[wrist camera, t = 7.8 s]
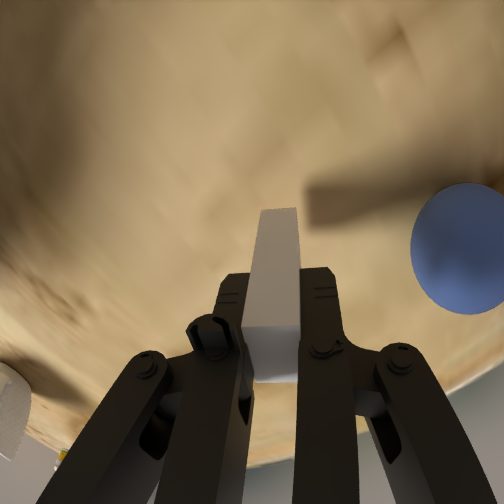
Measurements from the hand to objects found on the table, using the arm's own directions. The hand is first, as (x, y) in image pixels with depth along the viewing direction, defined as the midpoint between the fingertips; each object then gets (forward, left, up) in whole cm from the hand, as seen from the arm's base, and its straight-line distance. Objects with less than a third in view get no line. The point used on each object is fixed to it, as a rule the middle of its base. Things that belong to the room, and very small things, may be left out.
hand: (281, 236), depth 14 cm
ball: (+9, -1, +1) cm, 9 cm away
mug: (-41, -21, -2) cm, 46 cm away
